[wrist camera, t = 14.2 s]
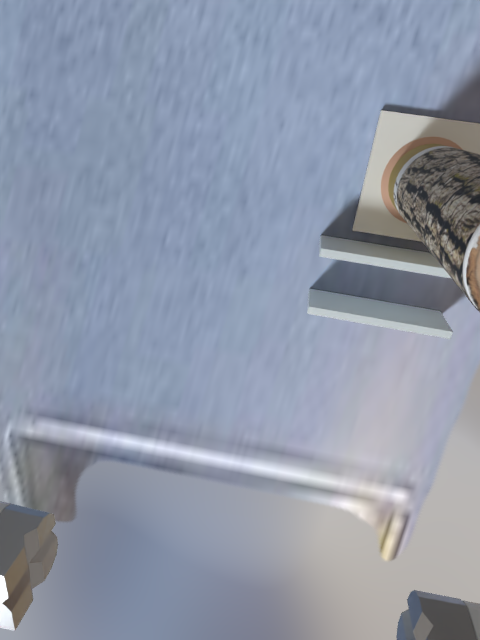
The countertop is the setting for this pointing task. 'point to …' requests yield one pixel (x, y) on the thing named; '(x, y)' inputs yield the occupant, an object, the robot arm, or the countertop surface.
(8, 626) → the robot arm
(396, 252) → the low walls
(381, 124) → the resting pad
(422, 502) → the countertop surface
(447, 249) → the wooden log
